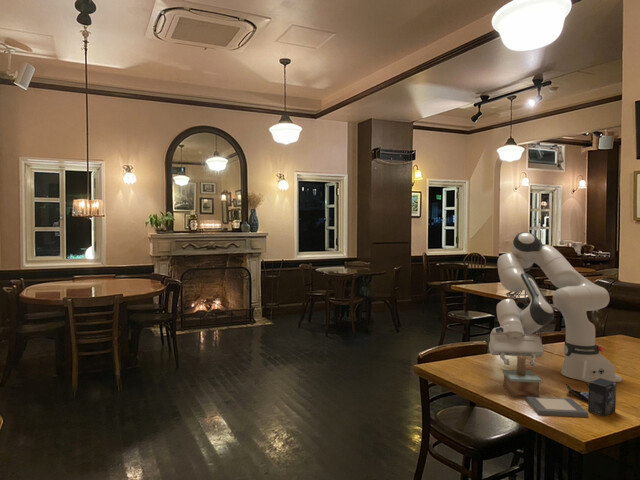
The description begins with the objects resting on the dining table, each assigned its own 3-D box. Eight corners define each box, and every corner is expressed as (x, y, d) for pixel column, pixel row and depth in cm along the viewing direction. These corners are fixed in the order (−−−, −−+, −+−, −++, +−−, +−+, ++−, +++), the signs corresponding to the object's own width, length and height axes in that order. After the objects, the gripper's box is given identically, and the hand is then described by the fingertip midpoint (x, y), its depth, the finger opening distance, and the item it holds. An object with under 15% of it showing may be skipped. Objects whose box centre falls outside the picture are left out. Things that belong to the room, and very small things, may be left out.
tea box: (530, 388, 182) (530, 373, 182) (539, 397, 172) (539, 382, 172) (503, 387, 183) (503, 372, 183) (511, 396, 173) (511, 381, 173)
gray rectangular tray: (571, 402, 168) (571, 398, 168) (588, 417, 155) (588, 412, 155) (525, 400, 170) (525, 396, 170) (538, 415, 157) (538, 410, 157)
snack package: (591, 393, 179) (561, 391, 179) (594, 378, 178) (563, 376, 178) (609, 410, 167) (576, 408, 168) (611, 394, 166) (578, 392, 166)
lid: (530, 373, 183) (531, 353, 182) (541, 382, 172) (541, 361, 171) (502, 372, 184) (502, 352, 184) (510, 381, 173) (511, 360, 173)
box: (605, 417, 155) (605, 386, 155) (587, 411, 160) (588, 381, 160) (616, 412, 159) (616, 381, 159) (598, 406, 164) (599, 377, 164)
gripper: (537, 338, 188) (545, 369, 179) (485, 337, 191) (491, 367, 181) (541, 330, 184) (550, 361, 174) (488, 328, 186) (494, 359, 177)
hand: (519, 364), depth 178 cm, fingers open, 8 cm apart
